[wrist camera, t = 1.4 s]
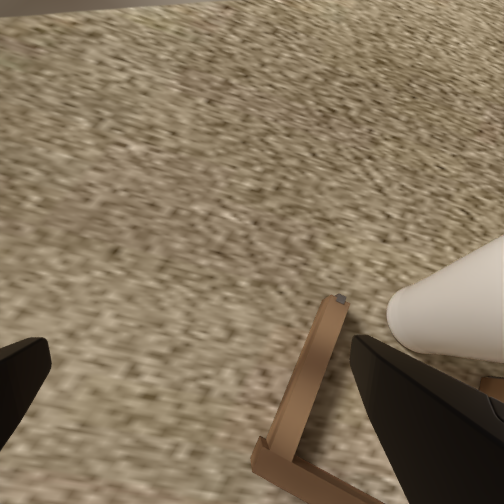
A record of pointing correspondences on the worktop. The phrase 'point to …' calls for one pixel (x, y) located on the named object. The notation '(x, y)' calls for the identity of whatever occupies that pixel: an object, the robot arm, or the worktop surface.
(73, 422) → the worktop surface
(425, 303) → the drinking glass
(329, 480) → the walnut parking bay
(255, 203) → the worktop surface
